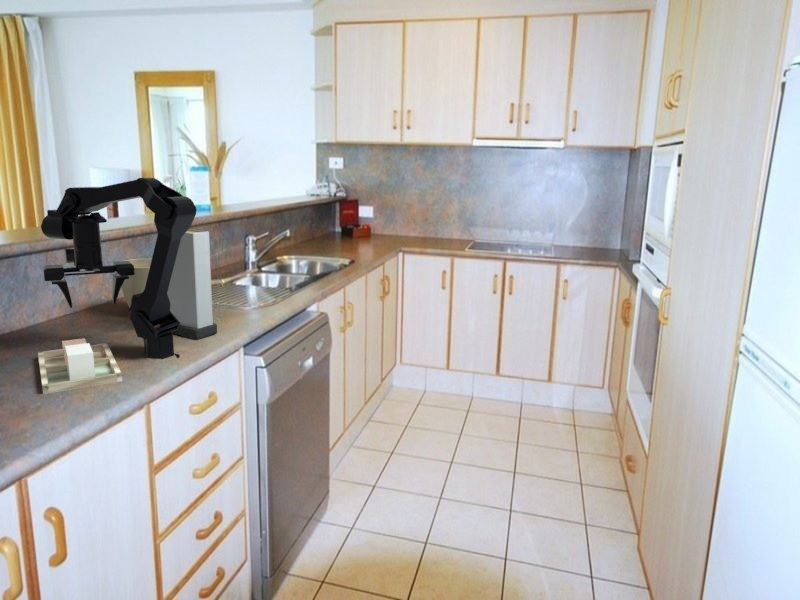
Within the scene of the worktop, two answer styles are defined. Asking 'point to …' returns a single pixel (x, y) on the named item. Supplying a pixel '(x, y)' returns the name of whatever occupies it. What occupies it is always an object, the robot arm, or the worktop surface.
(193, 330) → the container
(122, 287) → the plant pot
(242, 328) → the worktop surface
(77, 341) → the terracotta block
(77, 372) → the block
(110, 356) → the slot cradle
